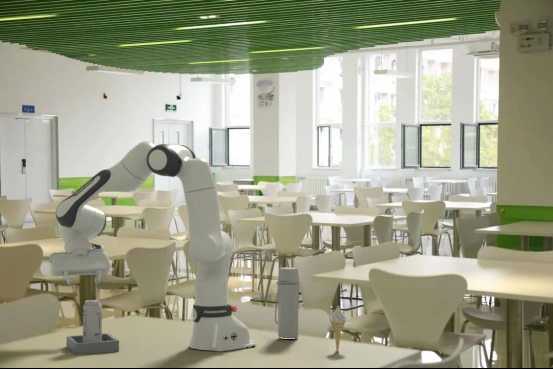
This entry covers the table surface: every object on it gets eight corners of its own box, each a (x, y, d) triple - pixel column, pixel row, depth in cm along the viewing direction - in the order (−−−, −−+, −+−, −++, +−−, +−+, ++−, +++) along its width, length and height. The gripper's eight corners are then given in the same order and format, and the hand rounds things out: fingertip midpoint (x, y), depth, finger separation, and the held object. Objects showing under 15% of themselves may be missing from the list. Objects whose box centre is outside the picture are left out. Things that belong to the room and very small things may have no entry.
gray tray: (108, 343, 272) (108, 333, 272) (118, 351, 260) (118, 340, 260) (66, 346, 266) (66, 336, 266) (75, 354, 254) (75, 343, 254)
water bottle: (302, 337, 286) (303, 267, 286) (291, 341, 279) (291, 269, 279) (280, 335, 290) (281, 266, 291) (269, 338, 284) (269, 268, 284)
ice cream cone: (336, 348, 268) (337, 303, 268) (349, 350, 264) (349, 305, 264) (325, 350, 264) (326, 305, 264) (338, 353, 260) (338, 307, 260)
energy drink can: (98, 348, 260) (99, 302, 260) (80, 348, 260) (81, 302, 260) (103, 344, 266) (103, 299, 266) (85, 344, 266) (86, 299, 266)
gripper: (49, 247, 276) (54, 278, 268) (108, 245, 285) (114, 275, 277) (47, 258, 280) (52, 290, 272) (104, 257, 289) (111, 287, 281)
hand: (84, 282), depth 274 cm, fingers open, 8 cm apart
